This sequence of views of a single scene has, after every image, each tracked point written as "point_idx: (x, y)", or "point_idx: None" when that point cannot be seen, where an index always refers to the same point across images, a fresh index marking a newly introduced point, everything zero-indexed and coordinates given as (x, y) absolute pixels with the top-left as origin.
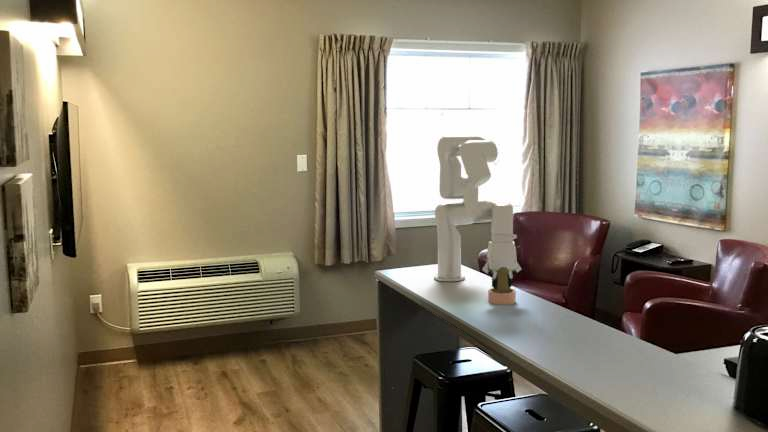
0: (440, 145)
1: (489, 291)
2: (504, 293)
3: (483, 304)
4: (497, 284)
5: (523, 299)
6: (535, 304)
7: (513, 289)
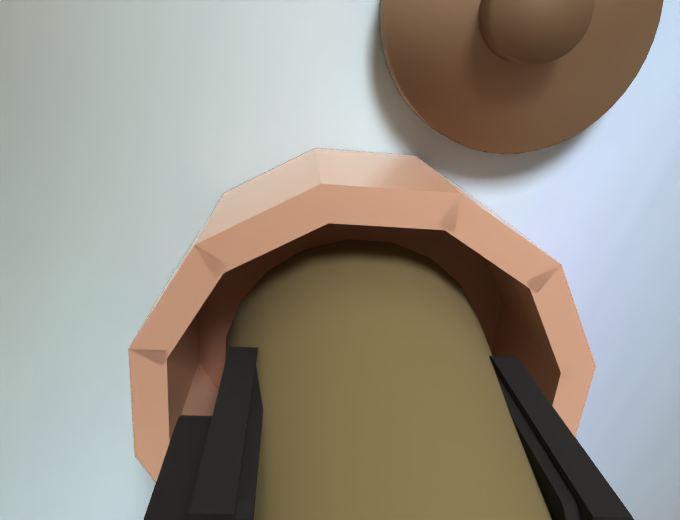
0: None
1: (134, 424)
2: None
3: (79, 410)
4: None
5: (649, 277)
6: (645, 491)
7: (575, 388)
